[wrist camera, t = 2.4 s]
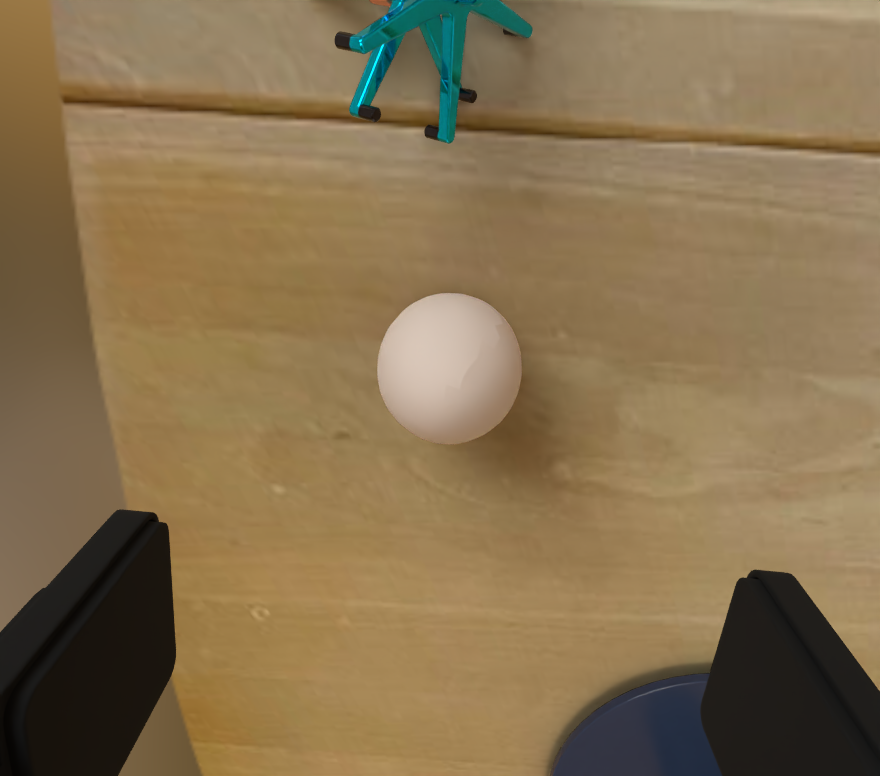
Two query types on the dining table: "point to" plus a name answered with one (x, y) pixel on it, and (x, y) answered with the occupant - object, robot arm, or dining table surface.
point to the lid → (643, 734)
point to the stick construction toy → (422, 6)
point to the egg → (449, 368)
